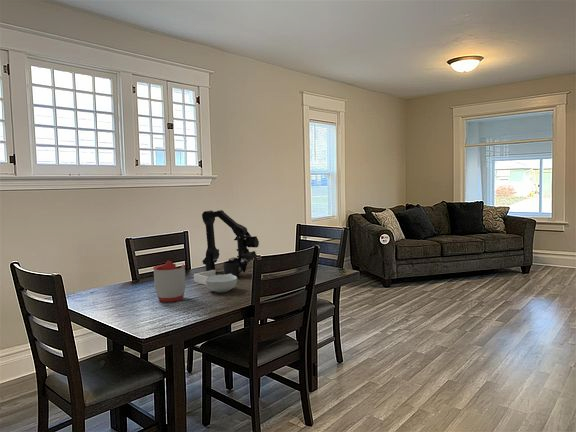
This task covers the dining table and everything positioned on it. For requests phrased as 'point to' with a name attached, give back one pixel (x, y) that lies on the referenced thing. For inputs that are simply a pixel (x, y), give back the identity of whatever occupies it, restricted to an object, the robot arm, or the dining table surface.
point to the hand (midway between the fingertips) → (244, 272)
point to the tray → (204, 276)
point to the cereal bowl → (221, 282)
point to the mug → (232, 268)
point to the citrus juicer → (169, 282)
